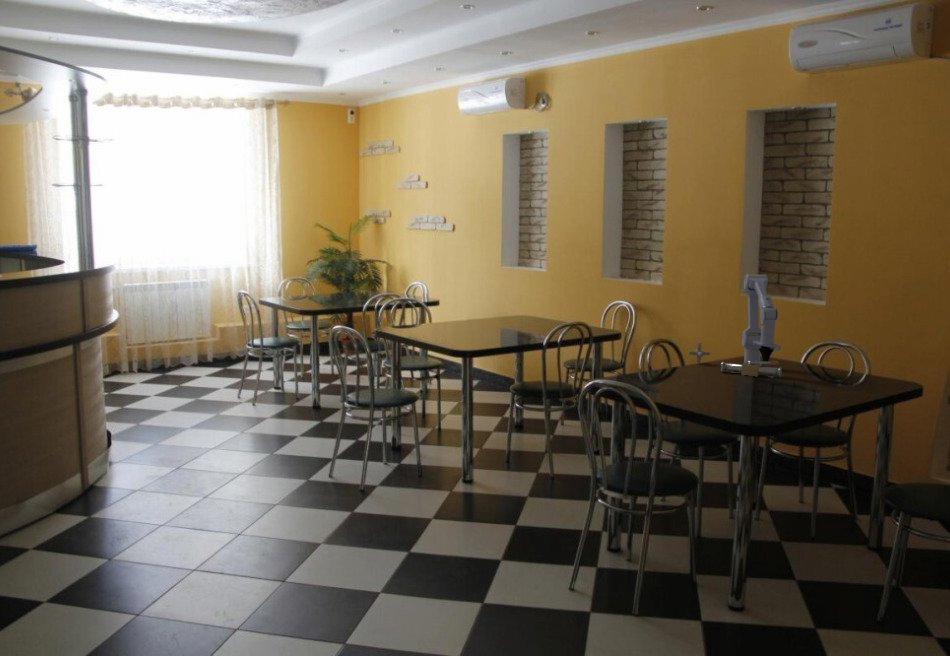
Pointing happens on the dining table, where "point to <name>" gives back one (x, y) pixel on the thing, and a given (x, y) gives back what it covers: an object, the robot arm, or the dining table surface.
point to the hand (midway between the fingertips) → (765, 363)
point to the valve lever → (763, 362)
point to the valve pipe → (751, 369)
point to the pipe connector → (699, 353)
